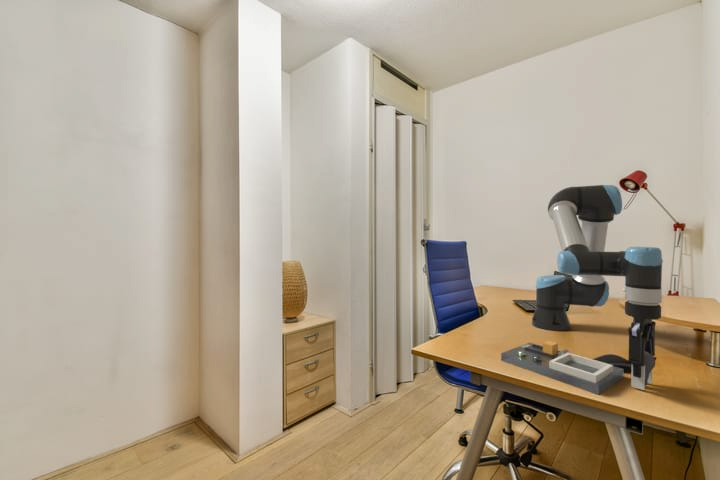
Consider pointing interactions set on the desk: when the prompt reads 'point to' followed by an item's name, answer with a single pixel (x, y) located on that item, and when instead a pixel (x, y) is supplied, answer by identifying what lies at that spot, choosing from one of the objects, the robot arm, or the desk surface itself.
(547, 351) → the wooden block
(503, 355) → the panel
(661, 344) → the desk surface
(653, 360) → the light bulb
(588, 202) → the robot arm
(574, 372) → the socket
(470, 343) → the desk surface
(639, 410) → the desk surface
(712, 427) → the desk surface
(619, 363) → the computer mouse
